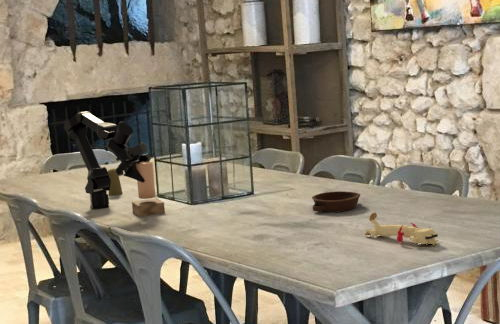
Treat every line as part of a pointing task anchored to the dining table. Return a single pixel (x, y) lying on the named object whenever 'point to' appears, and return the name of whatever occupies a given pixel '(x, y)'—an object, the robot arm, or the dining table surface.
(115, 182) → the olive chess pawn
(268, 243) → the dining table surface
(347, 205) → the dish
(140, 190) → the salmon pink block
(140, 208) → the walnut riser
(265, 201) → the dining table surface
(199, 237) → the dining table surface
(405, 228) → the cat figure
